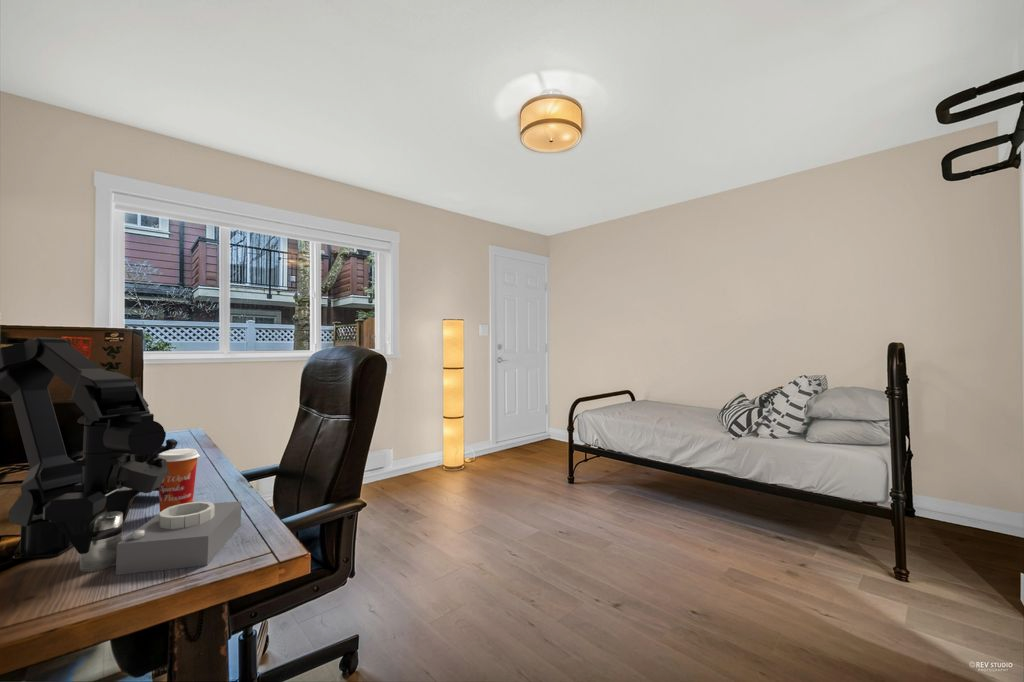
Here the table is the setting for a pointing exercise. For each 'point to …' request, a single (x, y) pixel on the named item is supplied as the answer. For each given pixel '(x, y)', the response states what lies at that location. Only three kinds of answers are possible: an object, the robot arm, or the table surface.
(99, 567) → the lens
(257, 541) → the table surface
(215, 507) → the camera body
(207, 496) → the table surface
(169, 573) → the table surface
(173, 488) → the paper cup
